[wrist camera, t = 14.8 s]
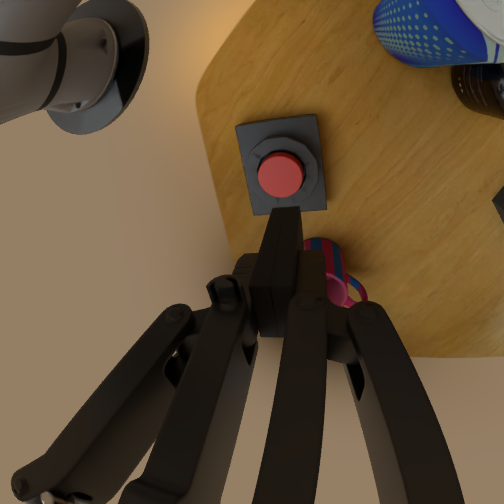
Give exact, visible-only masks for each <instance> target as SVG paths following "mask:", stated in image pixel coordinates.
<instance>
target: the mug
mask: <svg viewBox="0 0 504 504" xmlns="http://www.w3.org/2000/svg"><path fill="white" fill-rule="evenodd" d="M315 249H320V250H321V251H322V252H323V254H324V255H325V264H326V288H327V296H328V298H329V300H330V301H331V302H332V303H334V304H336V305H338V306H341V307H344V305H347V306H348V307H351V306H352V305H353V304H355V303H358V302H356V301H354V300H352V299H351V298H350V297H349V296H348V287H347V282H348V283H349V284H351V285H352V286H353V287H354V288H356V289H357V291H358V292H359V294H360V296H361V299H362V301H368V297H367V293H366V290H365V289H364V287H363V286H362V284H361V283H360V282H358V281H357V280H356V279H355V278H353V277H352V276H350V275H349V274H347V273H346V272H345V265H344V258H343V254H342V251H341V249H340V248H339V247H338V246H337V245H336V244H335V243H334V242H332V241H330V240H327V239H323V238H313V239H308V240H306V241H304V250H315Z"/></svg>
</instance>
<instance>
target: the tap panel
mask: <svg viewBox="0 0 504 504" xmlns="http://www.w3.org/2000/svg"><path fill="white" fill-rule="evenodd" d="M492 201H493V203H494V205H495V207H496V209H497V211H498V213H499V215H500V217H501V219H502V221H503V223H504V187H503V188H502V189H501V190H500V192H499V193H498V194H497V195H496V196H495V198H494V199H493V200H492Z"/></svg>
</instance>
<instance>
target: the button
mask: <svg viewBox="0 0 504 504" xmlns="http://www.w3.org/2000/svg"><path fill="white" fill-rule="evenodd" d="M302 178H303V169H302V166H301V164H300V162H299V160H298V159H297V158H296V157H294V156H293V155H291V154H289V153H286V152H276V153H273V154H271V155H269V156H268V157H267V158H266V159H265V160H264V161H263V163H262V165H261V166H260V168H259V171H258V180H259V183H260V185H261V187H262V188H263V190H264V191H265V192H266V193H268V194H269V195H271V196H274V197H279V198H284V197H288V196H291V195H293V194H294V193H296V192H297V191H298V189H299V188H300V186H301V184H302Z"/></svg>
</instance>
